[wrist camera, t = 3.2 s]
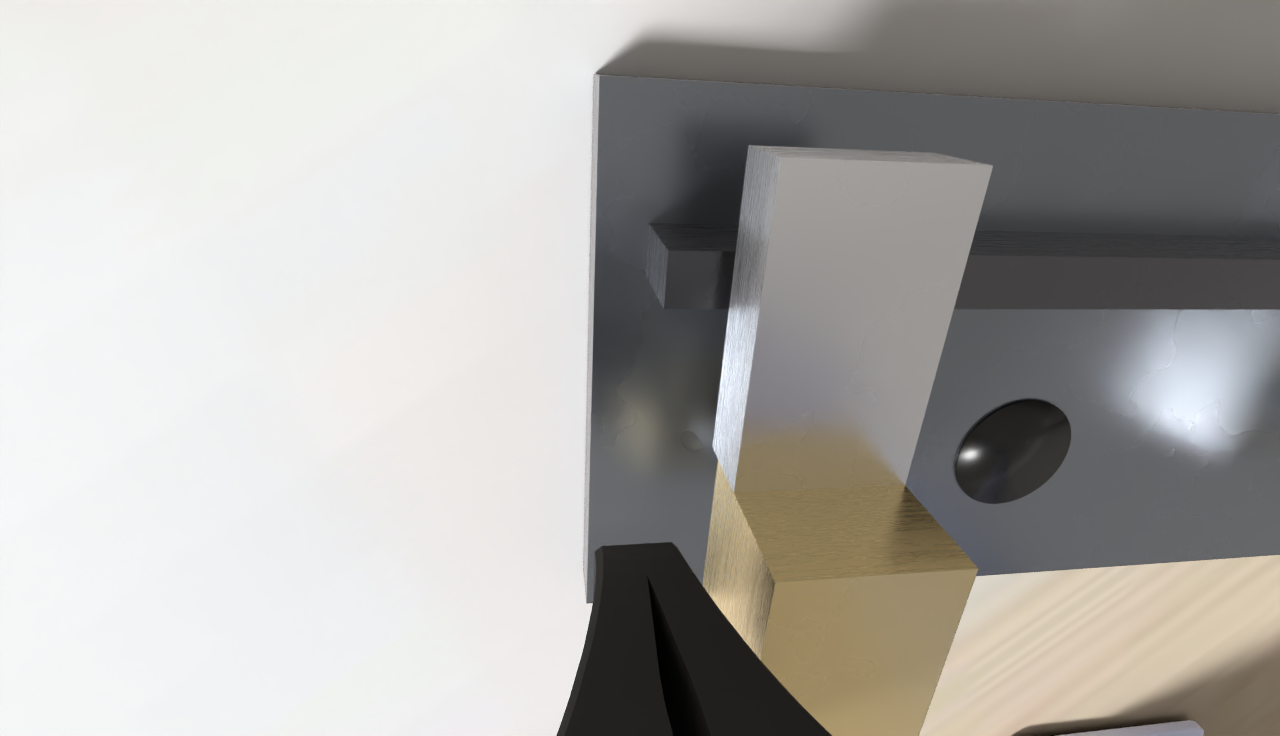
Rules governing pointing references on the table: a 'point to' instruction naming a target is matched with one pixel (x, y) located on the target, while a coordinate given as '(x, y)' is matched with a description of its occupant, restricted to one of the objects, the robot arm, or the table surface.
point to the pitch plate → (967, 319)
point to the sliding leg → (840, 428)
